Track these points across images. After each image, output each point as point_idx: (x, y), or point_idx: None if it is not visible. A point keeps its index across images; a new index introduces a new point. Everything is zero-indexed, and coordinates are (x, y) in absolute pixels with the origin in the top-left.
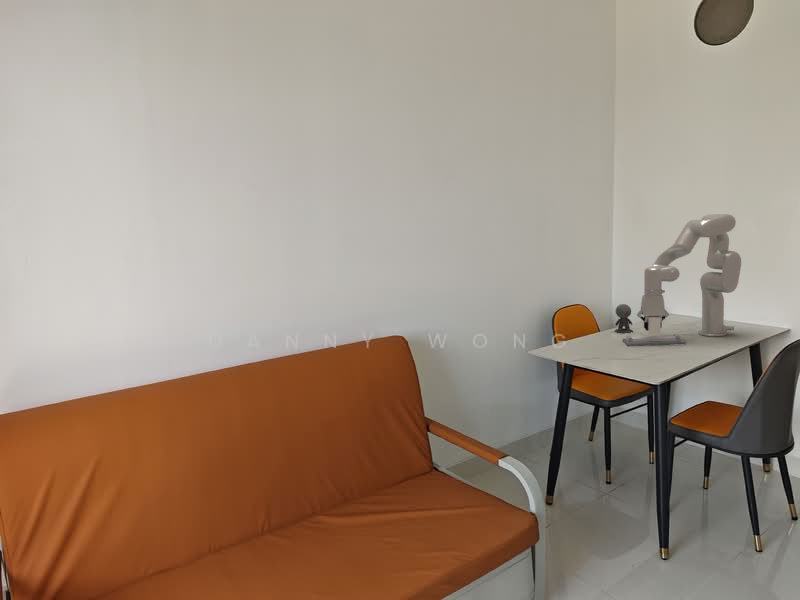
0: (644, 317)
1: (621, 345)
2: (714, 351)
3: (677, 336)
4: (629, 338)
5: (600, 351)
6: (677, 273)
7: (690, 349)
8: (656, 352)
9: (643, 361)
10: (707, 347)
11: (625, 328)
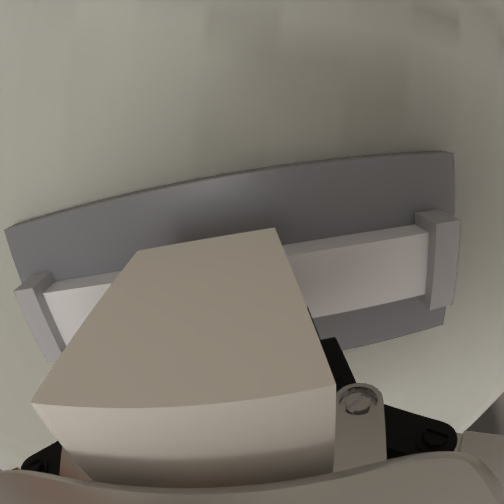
0: (74, 473)
1: (39, 348)
2: (472, 407)
3: (432, 308)
4: (53, 358)
5: (13, 425)
6: None
7: (409, 405)
8: None
9: None
10: (489, 355)
11: None
